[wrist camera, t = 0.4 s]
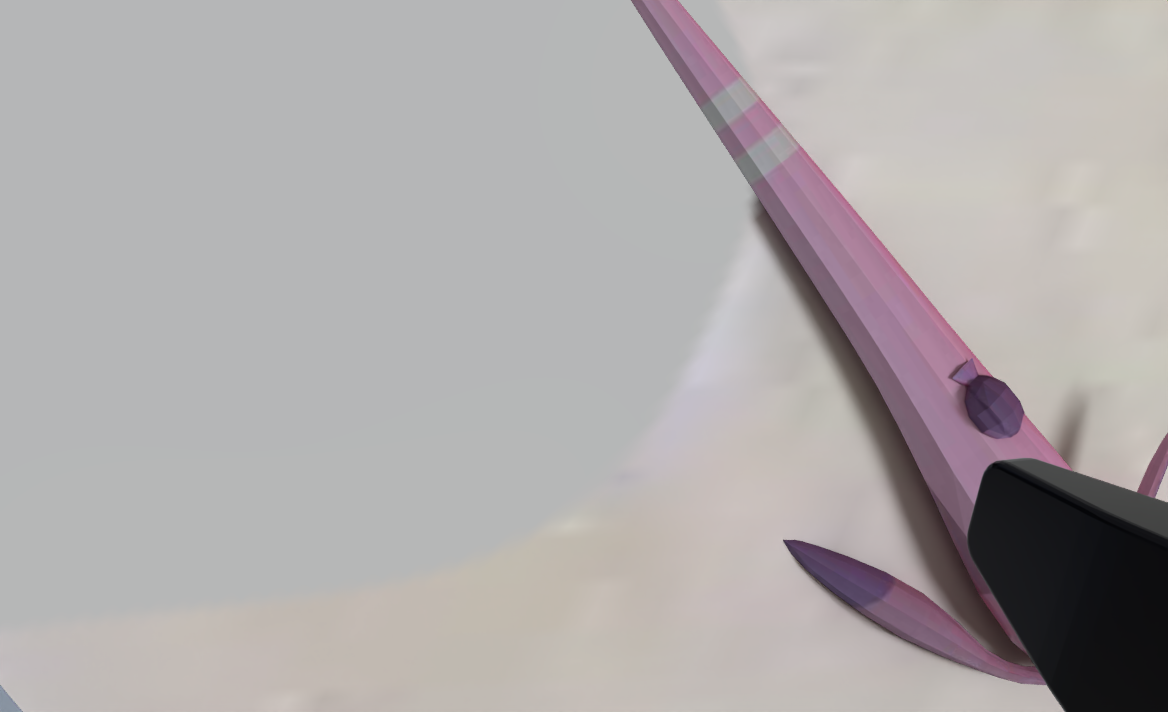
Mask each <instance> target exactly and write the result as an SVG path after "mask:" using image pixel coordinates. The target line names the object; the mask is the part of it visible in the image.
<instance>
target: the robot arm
mask: <svg viewBox="0 0 1168 712" xmlns="http://www.w3.org/2000/svg"><path fill="white" fill-rule="evenodd" d="M967 545H968V550H969V553H970V556H971V558H972V560H973V562H974V564H975V566H976V567H977V569H978V571H979V572H980V574H981V576H982V577H983V579H984V581H985V583H986V584H987V586H988V588H989V589H990V591H991V593H992V594H993V596H994V598H995V599H996V601H997V603H998V605H999V606H1000V608H1001V610H1002V611H1003V613H1004V615H1005V616H1006V618H1007V620H1008V621H1009V623H1010V625H1011V626H1012V628H1013V630H1014V632H1015V633H1016V635H1017V637H1018V638H1019V640H1020V642H1021V643H1022V645H1023V647H1024V648H1025V650H1026V652H1027V654H1028V655H1029V657H1030V659H1031V660H1032V662H1033V664H1034V665H1035V667H1036V669H1037V670H1038V672H1039V673H1040V675H1041V677H1042V678H1043V680H1044V681H1045V683H1046V685H1047V686H1048V688H1049V689H1050V691H1051V692H1052V694H1053V695H1054V697H1055V698H1056V700H1057V701H1058V702H1059V704H1060V705H1061V707H1062V708H1063V710H1064V711H1065V712H1168V502H1165V501H1161V500H1158V499H1155V498H1152V497H1149V496H1146V495H1143V494H1140V493H1137V492H1134V491H1131V490H1128V489H1125V488H1122V487H1119V486H1116V485H1113V484H1110V483H1107V482H1104V481H1101V480H1098V479H1095V478H1092V477H1089V476H1086V475H1083V474H1080V473H1077V472H1074V471H1071V470H1068V469H1065V468H1062V467H1059V466H1056V465H1053V464H1050V463H1047V462H1044V461H1041V460H1038V459H1034V458H1017V459H1007V460H999V461H995V462H993V463H991V464H990V465H989V466H988V467H987V468H986V470H985V471H984V473H983V476H982V479H981V482H980V486H979V490H978V493H977V497H976V501H975V505H974V508H973V512H972V516H971V520H970V523H969V527H968V532H967Z"/></svg>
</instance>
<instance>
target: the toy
mask: <svg viewBox="0 0 1168 712" xmlns="http://www.w3.org/2000/svg"><path fill="white" fill-rule="evenodd" d="M631 1H632V3H633V4H634V6H635V7H636V9H637V10H638V12H639V14H640V15H641V17H642V18H643V20H644V21H645V23H646V25H647V26H648V28H649V29H650V31H651V32H652V34H653V36H654V37H655V39H656V40H657V42H658V44H659V45H660V47H661V48H662V50H663V51H664V53H665V55H666V56H667V58H668V59H669V61H670V62H671V64H672V65H673V67H674V69H675V70H676V71H677V73H678V74H679V76H680V78H681V79H682V81H683V82H684V84H685V85H686V87H687V88H688V90H689V92H690V93H691V95H692V96H693V98H694V99H695V101H696V102H697V104H698V106H699V107H700V109H701V110H702V112H703V113H704V114H705V116H706V118H707V119H708V121H709V122H710V124H711V126H712V127H713V129H714V130H715V132H716V133H717V135H718V136H719V138H720V139H721V141H722V143H723V144H724V146H725V147H726V149H727V150H728V152H729V153H730V155H731V156H732V158H733V160H734V161H735V162H736V164H737V166H738V167H739V169H740V170H741V172H742V173H743V175H744V177H745V178H746V179H747V181H748V183H749V184H750V186H751V187H752V189H753V191H754V192H755V194H756V195H757V197H758V198H759V200H760V201H761V203H762V204H763V206H764V208H765V209H766V211H767V212H768V214H769V215H770V217H771V218H772V220H773V222H774V223H775V225H776V226H777V228H778V229H779V231H780V232H781V234H782V235H783V237H784V239H785V240H786V242H787V243H788V245H789V246H790V248H791V249H792V251H793V253H794V254H795V256H796V257H797V259H798V260H799V262H800V263H801V265H802V267H803V268H804V270H805V271H806V273H807V274H808V276H809V277H810V279H811V281H812V282H813V284H814V285H815V287H816V288H817V290H818V291H819V293H820V295H821V296H822V298H823V299H824V301H825V302H826V304H827V306H828V307H829V309H830V310H831V312H832V313H833V315H834V317H835V318H836V320H837V321H838V323H839V324H840V326H841V328H842V329H843V331H844V332H845V334H846V335H847V337H848V339H849V340H850V342H851V344H852V345H853V347H854V349H855V350H856V352H857V354H858V355H859V357H860V359H861V360H862V362H863V364H864V365H865V367H866V368H867V370H868V372H869V373H870V375H871V377H872V378H873V380H874V382H875V383H876V385H877V387H878V389H879V391H880V393H881V395H882V397H883V399H884V400H885V402H886V404H887V406H888V408H889V410H890V412H891V414H892V416H893V417H894V419H895V421H896V423H897V425H898V427H899V429H900V431H901V433H902V435H903V437H904V439H905V441H906V443H907V445H908V447H909V449H910V451H911V453H912V455H913V457H914V459H915V461H916V463H917V465H918V467H919V469H920V471H921V473H922V475H923V477H924V479H925V482H926V484H927V486H928V488H929V490H930V492H931V495H932V497H933V499H934V501H935V503H936V505H937V508H938V510H939V512H940V514H941V516H942V518H943V521H944V523H945V525H946V527H947V529H948V531H949V534H950V536H951V538H952V540H953V542H954V544H955V546H956V548H957V550H958V552H959V554H960V556H961V559H962V561H963V563H964V565H965V567H966V569H967V571H968V573H969V575H970V577H971V579H972V581H973V583H974V585H975V587H976V590H977V592H978V594H979V595H980V597H981V598H982V600H983V601H984V602H985V604H986V605H987V607H988V608H989V610H990V611H991V612H992V614H993V615H994V617H995V618H996V620H997V621H998V623H999V624H1000V625H1001V627H1002V628H1003V630H1004V631H1005V633H1006V634H1007V635H1008V637H1009V638H1010V640H1011V641H1012V642H1013V643H1014V644H1015V645H1016V646H1018V647H1019V648H1020V649H1021V650H1022V651H1024V652H1025V653H1026V654H1027V652H1026V650H1025V648H1024V647H1023V645H1022V643H1021V642H1020V640H1019V638H1018V637H1017V635H1016V633H1015V632H1014V630H1013V628H1012V626H1011V625H1010V623H1009V621H1008V620H1007V618H1006V616H1005V615H1004V613H1003V611H1002V610H1001V608H1000V606H999V605H998V603H997V601H996V599H995V598H994V596H993V594H992V593H991V591H990V589H989V588H988V586H987V584H986V583H985V581H984V579H983V577H982V576H981V574H980V572H979V571H978V569H977V567H976V566H975V564H974V562H973V560H972V558H971V556H970V553H969V550H968V545H967V532H968V527H969V523H970V520H971V516H972V512H973V508H974V505H975V501H976V497H977V493H978V490H979V486H980V482H981V479H982V476H983V473H984V471H985V470H986V468H987V467H988V466H989V465H990V464H991V463H993V462H995V461H999V460H1007V459H1017V458H1034V459H1038V460H1041V461H1044V462H1047V463H1050V464H1053V465H1056V466H1059V467H1062V468H1065V469H1068V470H1071V471H1072V469H1071V468H1070V467H1069V466H1068V465H1067V463H1066V462H1065V461H1064V460H1063V459H1062V457H1061V456H1060V455H1059V454H1058V453H1057V451H1056V450H1055V449H1054V448H1053V447H1052V446H1051V444H1050V443H1049V442H1048V441H1047V440H1046V439H1045V437H1044V436H1043V435H1042V434H1041V433H1040V432H1039V430H1038V429H1037V428H1036V427H1035V426H1034V425H1033V423H1032V422H1031V421H1030V420H1029V419H1028V418H1027V416H1026V415H1025V414H1024V410H1023V408H1022V405H1021V403H1020V401H1019V399H1018V398H1017V397H1016V396H1015V394H1014V393H1013V392H1012V391H1011V390H1010V388H1009V387H1008V386H1007V385H1006V383H1004V382H1002V381H1000V380H998V379H996V378H994V377H993V376H992V375H991V374H990V373H989V372H988V371H987V369H986V368H985V367H984V366H983V365H982V363H981V362H980V361H979V360H978V359H977V358H976V356H975V355H974V354H973V353H972V352H971V350H970V349H969V348H968V347H967V346H966V344H965V343H964V342H963V341H962V340H961V338H960V337H959V336H958V335H957V334H956V332H955V331H954V330H953V329H952V328H951V326H950V325H949V324H948V323H947V322H946V320H945V319H944V318H943V317H942V315H941V314H940V313H939V312H938V311H937V309H936V308H935V307H934V306H933V304H932V303H931V302H930V301H929V300H928V298H927V297H926V296H925V295H924V293H923V292H922V291H921V290H920V289H919V287H918V286H917V285H916V284H915V282H914V281H913V280H912V279H911V278H910V276H909V275H908V274H907V273H906V272H905V270H904V269H903V268H902V267H901V265H900V264H899V263H898V262H897V261H896V259H895V258H894V257H893V256H892V255H891V253H890V252H889V251H888V250H887V248H886V247H885V246H884V245H883V244H882V242H881V241H880V240H879V239H878V238H877V236H876V235H875V234H874V233H873V232H872V230H871V229H870V228H869V227H868V226H867V224H866V223H865V222H864V221H863V220H862V218H861V217H860V216H859V215H858V214H857V212H856V211H855V210H854V209H853V208H852V206H851V205H850V204H849V203H848V202H847V200H846V199H845V198H844V197H843V196H842V194H841V193H840V192H839V191H838V190H837V189H836V187H835V186H834V185H833V184H832V183H831V181H830V180H829V179H828V178H827V177H826V176H825V174H824V173H823V172H822V171H821V170H820V168H819V167H818V166H817V165H816V164H815V162H814V161H813V160H812V159H811V158H810V157H809V155H808V154H807V153H806V152H805V151H804V149H803V148H802V147H801V146H800V145H799V143H798V142H797V141H796V140H795V139H794V138H793V136H792V135H791V134H790V133H789V132H788V130H787V129H786V128H785V127H784V126H783V125H782V123H781V122H780V121H779V120H778V119H777V117H776V116H775V115H774V114H773V113H772V111H771V110H770V109H769V108H768V107H767V106H766V104H765V103H764V102H763V101H762V100H761V98H760V97H759V96H758V95H757V94H756V93H755V91H754V90H753V89H752V88H751V87H750V85H749V84H748V83H747V82H746V81H745V80H744V78H743V77H742V76H741V75H740V74H739V72H738V71H737V70H736V69H735V68H734V67H733V65H732V64H731V63H730V62H729V61H728V59H727V58H726V57H725V56H724V55H723V54H722V52H721V51H720V50H719V49H718V48H717V46H716V45H715V44H714V43H713V42H712V40H711V39H710V38H709V37H708V36H707V35H706V34H705V32H704V31H703V30H702V29H701V27H700V26H699V25H698V24H697V23H696V22H695V21H694V19H693V18H692V17H691V16H690V14H689V13H688V12H687V11H686V10H685V9H684V7H683V6H682V5H681V4H680V3H679V1H678V0H631ZM1167 466H1168V433H1167V435H1166V436H1165V438H1164V439H1163V441H1162V442H1161V444H1160V446H1159V447H1158V449H1157V451H1156V453H1155V455H1154V456H1153V458H1152V460H1151V462H1150V463H1149V466H1148V468H1147V470H1146V472H1145V475H1144V477H1143V479H1142V482H1141V484H1140V486H1139V488H1138V491H1137V493H1140V494H1143V495H1146V496H1149V497H1152V498H1155V496H1156V494H1157V491H1158V489H1159V486H1160V484H1161V481H1162V479H1163V476H1164V474H1165V471H1166V469H1167ZM783 541H784V543H785V544H786V546H787V547H788V549H789V551H790V552H791V554H792V555H793V556H794V557H795V558H796V559H797V560H798V561H799V562H800V563H801V564H802V566H803V567H804V568H805V569H806V570H807V571H809V572H810V573H811V574H812V575H813V576H814V577H815V578H816V579H818V580H819V581H820V582H821V583H822V584H824V585H825V586H826V587H827V588H828V589H829V590H831V591H832V592H833V593H835V594H836V595H837V596H839V597H840V598H842V599H843V600H844V601H846V602H847V603H848V604H850V605H851V606H853V607H854V608H855V609H857V610H858V611H859V612H861V613H862V614H864V615H865V616H867V617H868V618H870V619H872V620H873V621H875V622H877V623H878V624H880V625H881V626H883V627H885V628H886V629H888V630H890V631H891V632H893V633H895V634H896V635H898V636H899V637H901V638H903V639H905V640H908V641H910V642H912V643H914V644H916V645H918V646H921V647H923V648H925V649H927V650H929V651H932V652H934V653H936V654H938V655H940V656H943V657H945V658H948V659H950V660H953V661H955V662H958V663H961V664H963V665H966V666H968V667H971V668H973V669H976V670H979V671H982V672H984V673H987V674H990V675H993V676H996V677H998V678H1002V679H1006V680H1010V681H1014V682H1017V683H1021V684H1037V685H1046V683H1045V681H1044V680H1043V678H1042V677H1041V675H1040V673H1039V672H1038V670H1037V669H1036V667H1035V666H1029V667H1025V666H1021V665H1018V664H1015V663H1011V662H1008V661H1005V660H1003V659H1002V658H1000V657H998V656H997V655H995V654H993V653H991V652H990V651H988V650H986V649H985V648H984V647H983V646H982V645H981V644H980V643H979V642H978V641H977V640H976V639H974V638H973V637H972V636H971V635H970V634H969V633H968V632H967V631H966V630H965V629H964V628H963V627H962V626H961V625H960V624H959V623H958V622H957V621H956V620H955V619H953V618H952V617H951V616H950V615H949V614H947V613H946V612H945V611H944V610H942V609H941V608H940V607H939V606H938V605H936V604H935V603H934V602H933V601H932V600H930V599H929V598H928V597H927V596H925V595H924V594H923V593H921V592H919V591H918V590H916V589H914V588H912V587H911V586H909V585H907V584H905V583H904V582H902V581H900V580H898V579H897V578H895V577H893V576H891V575H890V574H888V573H886V572H884V571H881V570H879V569H877V568H874V567H872V566H869V565H867V564H865V563H862V562H860V561H857V560H855V559H853V558H850V557H848V556H845V555H842V554H839V553H836V552H833V551H831V550H828V549H825V548H822V547H819V546H816V545H813V544H809V543H806V542H802V541H797V540H783ZM1027 655H1028V654H1027ZM1028 656H1029V655H1028Z"/></svg>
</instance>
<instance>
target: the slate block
mask: <svg viewBox="0 0 1168 712" xmlns="http://www.w3.org/2000/svg"><path fill="white" fill-rule="evenodd" d="M0 712H22V710H21V709H20V708H19V707H18V706H17V704H16V703H15V702H14V701H13V700H12V698H11V697H10V696H9V695H8V694H7V692H6V691H5V690H4V689H3V688H2V686H1V685H0Z"/></svg>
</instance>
